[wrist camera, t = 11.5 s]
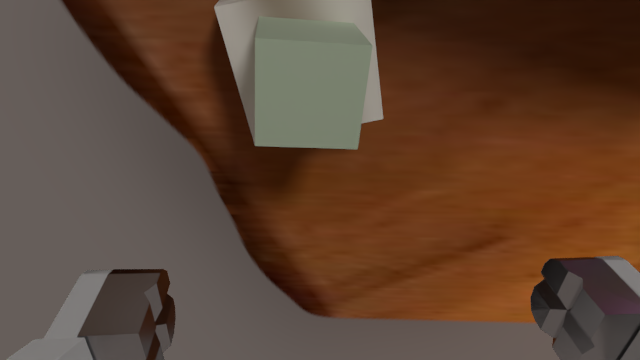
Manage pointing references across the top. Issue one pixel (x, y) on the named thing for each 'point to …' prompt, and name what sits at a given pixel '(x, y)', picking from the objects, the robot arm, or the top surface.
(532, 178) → the top surface
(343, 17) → the base slab
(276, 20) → the sage block
